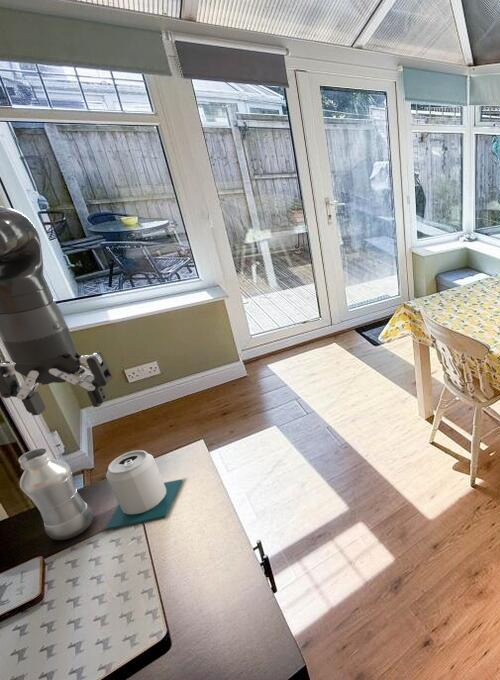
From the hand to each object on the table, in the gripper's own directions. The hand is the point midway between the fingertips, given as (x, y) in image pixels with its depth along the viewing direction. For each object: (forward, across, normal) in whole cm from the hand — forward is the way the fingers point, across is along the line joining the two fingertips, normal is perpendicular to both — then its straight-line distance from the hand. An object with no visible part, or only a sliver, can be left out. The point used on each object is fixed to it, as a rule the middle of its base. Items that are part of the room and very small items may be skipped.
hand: (69, 408), depth 75 cm
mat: (+28, -4, -2) cm, 29 cm away
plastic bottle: (+29, +7, +1) cm, 29 cm away
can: (+28, -4, -2) cm, 28 cm away
